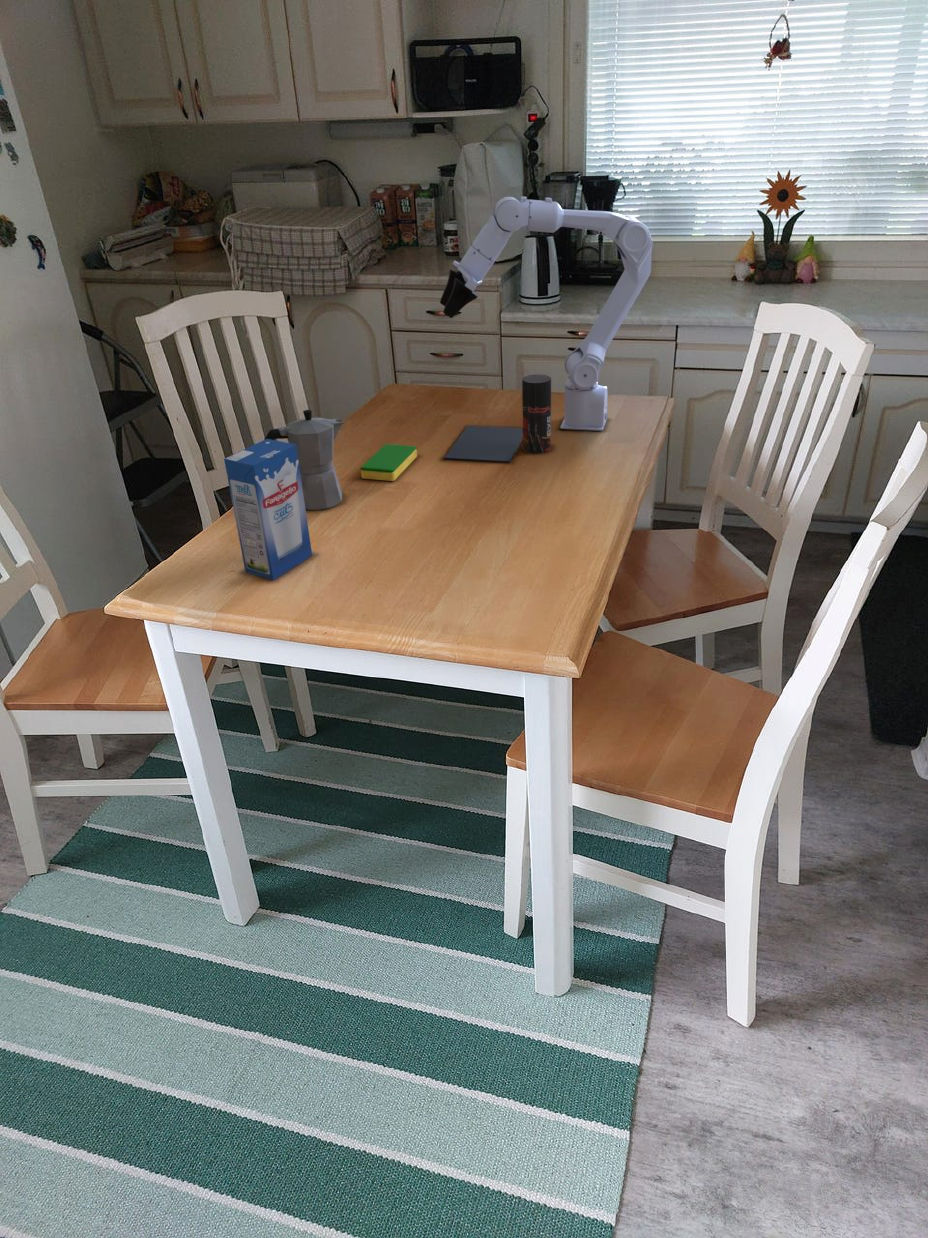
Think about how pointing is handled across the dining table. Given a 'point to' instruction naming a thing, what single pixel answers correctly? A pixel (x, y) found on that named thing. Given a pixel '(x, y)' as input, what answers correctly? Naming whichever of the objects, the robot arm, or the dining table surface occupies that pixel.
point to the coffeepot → (314, 458)
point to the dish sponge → (389, 462)
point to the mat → (486, 444)
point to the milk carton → (269, 507)
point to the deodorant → (536, 413)
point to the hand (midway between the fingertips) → (445, 310)
